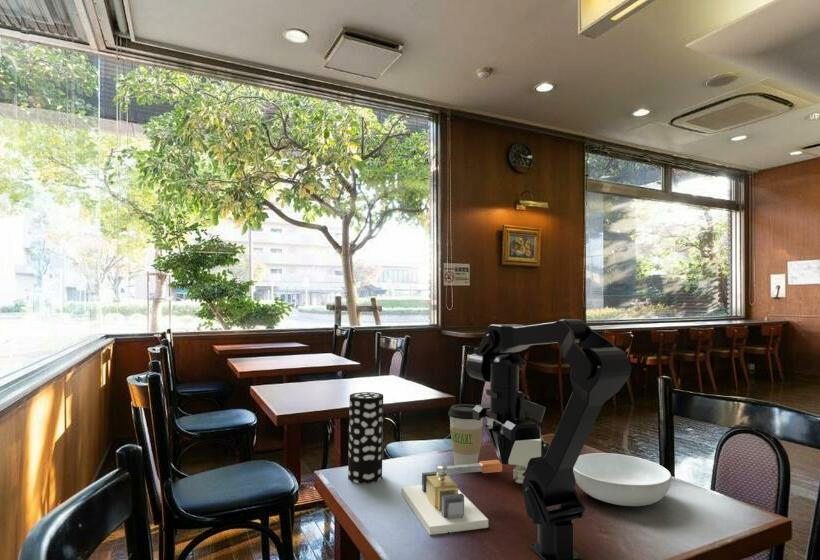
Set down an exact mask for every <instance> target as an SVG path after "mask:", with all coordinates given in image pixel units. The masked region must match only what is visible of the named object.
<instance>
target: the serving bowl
mask: <svg viewBox="0 0 820 560" xmlns="http://www.w3.org/2000/svg"><path fill="white" fill-rule="evenodd" d="M573 471H574V475H575V479H576V483H575V484H576V485H577V486H578V487H579V488H580V489H581V490H582V491H583V492H584V493H586V494H587V495H589V496H590V497H592V498H593V499H596V500H599V501H602V502H604V503H608V504H612V505H616V506H622V507H623V506H624V507H641V506H642V507H643V506H647V505H652V504H655V503H657V502H659V501H660V500H662V499H663V498H664V497H665V496H666V495H667V493H668V492H669V489H670V487H671V481H672V474H671V472H670V471H669V469H667V468H665V467H664V466H663V465H660V464H659V463H656V462H653V461H651V460H648V459H645V458H642V457H641V458H640V457H638V456H632V455H628V454H621V453H607V452H594V453H585V454H581V455H579V457H578V459H577V461H576V463H575V465H574V468H573Z"/></svg>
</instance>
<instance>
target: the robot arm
mask: <svg viewBox="0 0 820 560" xmlns="http://www.w3.org/2000/svg"><path fill="white" fill-rule="evenodd" d="M577 343H578V344H579V345H578V344H577ZM549 344H559V345H560V348H561V353H562V354H561V355H562V358H563V360H564V361H565V362H566V364H567V365H568V366H569V367H570V368H571V369H570V373H569V379H570V384H571V388H572V392H571V395H570V397H569V400H568V402H567V405H566V406H565V409H564V411H563V414H562V416H561V418H560V421H559V423H558V426H557V428H556V430H555V432H554V435H553V437H552V440H551V441H550V446H549V448H548V451H547V453H546V455H545V456H541V457H535V458H531V459H530V460H529V462H528V465H527V469H526V471H525V472H524V473H523V474H522V475H523V476H524V480H523V484H521V485H522V486H521V487H522V495H523V500H524V504H525V510H526V514H527V517H528V518H529V519H531V522H532V523H533V524H536V525H537V526H536V527H537V529H536V533H537V534H536V536H537V537H536V541H537V542H533V543H530V544H529V548H530V549H531V550H532V551H533V552H535V553H536V555H537V556H538V557H540V558H541V560H582V555H580V553H578V552H577V551H576V550H575V549H574V547H575V546H574V539H575V538H574V531H575V530H574V529H575V528H574V525H575V524H574V523H573V521H575V520H577V519H580V520H581V519H583V518H584V516H585V512H586V507H585V505H584V503H583V502H582V500H581V498H580V496H579V494H578V492H577V491H576V489H575V486H576V484H577V483H576V479H575V475H574V471H573V468H574V465H575V463H576V461H577V459H578V457H579V456H580V454H581V453H582V450H583V448H584V446H585V444H586V442H587V439H588V437H589V435H590V432H591V431H592V428H593V426H594V424H595V422H596V420H597V418H598V416H599V414H600V411H601V409H602V407H603V405H604V404H605V403H606V402H607V401H608V400H610V399H611V398H612V397H614V396H615V394H617V393H619V392H620V391H621V389H622V388H623V386H624V385H625V384H626V382H628V379H629V378H630V377H631V373H632V369H633V368H632V367H633V366H632V365H631V364H630V360H629V357H628V355H627V354H626V352H624V351H623V350H622V349H620V348H619V347H617V346H616V345H615V344H614V342H612V341H611V340H610V339H608V338H606V337H605V336H603V335H602V334H600V333H599V332H597V331H595V330H594V329H592V328H591V327H590V326H589V325H588V323H586V322H585V321H584V320H582V319H580V318H579V319H578V318H576V319H575V318H571V319H570V318H567V319H566V318H565V319H563V318H562V319H559V320H557V321H552V322H551V321H550V322H545V323H542V322H541V323H536V324H529V325H525V324H517V323H510V324H509V323H507V324H505V323H504V324H501V323H500V324H498V323H497V324H496V323H495V324H489V325H488V326H487V330H486V331H485V332H484V335H483V338H482V339H481V341H480V344H479V345H478V346H477V347H474V348H473V353H471V354H470V355H469V356H468V357H467V359H466V363H465V370H466V373H467V375H469V377H471V378H473V379H476V380H481V381H484V382H487V383H489V384H490V386H489V388H488V389H485V390H486V395H487V396H489V403H486V404H476V406H475V407H474V408H473V418H474V419H476V420H480V419H481V418H482V417H483V418H485V419H487V423H486V424H485V425H483V428H484V429H485V430H486V433H487V435H488V437H489V440H490V442H491V443H492V446H493V449H494V451H495V453H496V455H497V458H498V460H499V461H500V463H501V464H502V465H508V464H507V463H508V460H509V457H510V454H511V451H512V448H513V445H514V443H515V441H520V440H533V439H540V438H541V435H542V429H541V428H542V427H541V426H540V425H539V424H538V423H542V422H543V419H544V416H545V412H546V407H545V406H543V405H540V404H538V403H536V402H532V401H531V397H530V396H528V395H526V394H524V392H522V391H519V389H520V386H519V384H520V380H519V379H520V375H519V374H520V366H521V367H522V366H526V364H527V363H526V361H525V360H524V359H523V358H522V357H521V356H520V354H519V353H518V352H522V351H524V350H527V349H528V348H529V347H532V346H536V345H549ZM581 347H582V348H581ZM526 417H528V418H531V419H533V420H535V421H536V422H534V421H532V420H530V419H528V418H527V419H526ZM537 422H538V423H537ZM556 505H558V506H556ZM551 506H553V507H551ZM547 507H548V508H547Z"/></svg>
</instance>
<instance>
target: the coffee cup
mask: <svg viewBox="0 0 820 560" xmlns="http://www.w3.org/2000/svg"><path fill="white" fill-rule="evenodd" d="M476 405H477V404H476ZM476 405H475V404H468V403H467V404H466V403H465V404H462V403H461V404H460V403H459V404H453V405H451V406H450V409H449V410H448V413H447V415H448V417H449V420H450V421H449V423H450V425H449V430H450V437H451V439H450V440H451V446H452V447H451V449H452V452H453V463H454V464H453V465H464V464H475V463H479V455H480V452H481V445H482V436H483V428H484V425H483V421H484V417H482V418H481V419H480V420H476V419H474V418H473V408H474V407H475V406H476Z"/></svg>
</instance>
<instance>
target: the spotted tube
mask: <svg viewBox="0 0 820 560" xmlns="http://www.w3.org/2000/svg"><path fill="white" fill-rule="evenodd" d="M348 405H349V409H348V410H349V412H348V413H349V415H348V459H347V461H348V462H347V463H348V465H347V466H348V469H347V473H348V475H347V478H348V480H349V481H350V482H352V483H356V484H373V483H376V482H379V481H381V480H382V479H383V446H384V444H383V442H384V440H383V437H384V436H383V435H384V431H383V430H384V423H383V422H384V394H383V393H379V392H372V391H371V392H370V391H367V392H366V391H364V392H363V391H362V392H354V393H351V394H349V404H348Z"/></svg>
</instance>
